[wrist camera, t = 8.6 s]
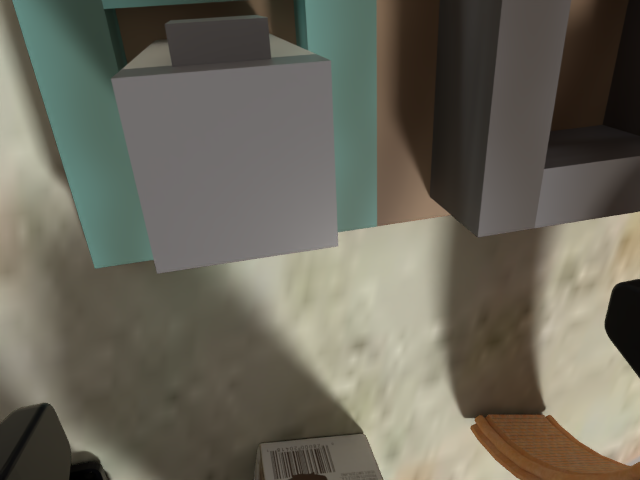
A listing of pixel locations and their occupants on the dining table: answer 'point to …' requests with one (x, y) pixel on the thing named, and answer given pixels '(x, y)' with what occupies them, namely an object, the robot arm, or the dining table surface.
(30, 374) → the dining table surface
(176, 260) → the plug
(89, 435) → the dining table surface
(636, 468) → the arch
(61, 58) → the dock
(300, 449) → the coffee box
